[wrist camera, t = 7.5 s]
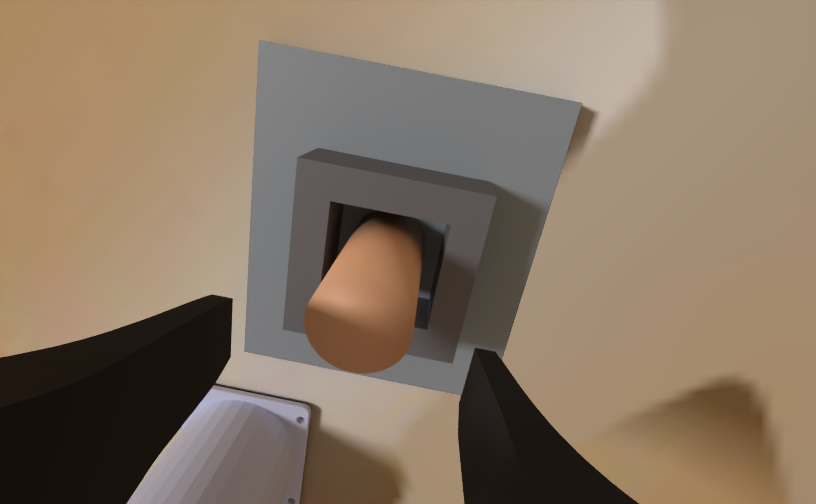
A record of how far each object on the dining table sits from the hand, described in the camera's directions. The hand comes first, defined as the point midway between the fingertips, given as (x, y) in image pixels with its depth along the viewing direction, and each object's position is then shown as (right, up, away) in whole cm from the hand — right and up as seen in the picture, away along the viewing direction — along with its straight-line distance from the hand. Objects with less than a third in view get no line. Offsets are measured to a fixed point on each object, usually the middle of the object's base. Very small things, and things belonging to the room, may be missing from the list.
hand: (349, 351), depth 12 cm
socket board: (+1, +4, +10) cm, 10 cm away
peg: (+1, +3, +9) cm, 9 cm away
